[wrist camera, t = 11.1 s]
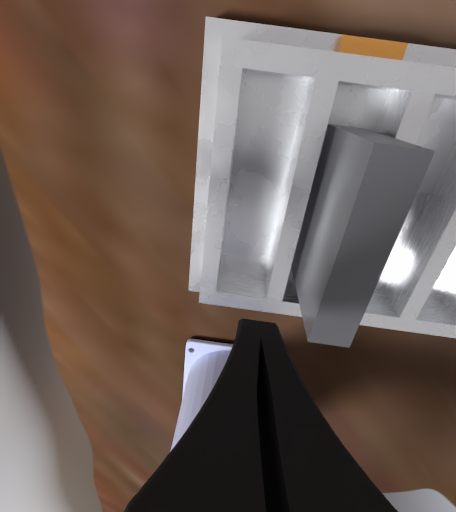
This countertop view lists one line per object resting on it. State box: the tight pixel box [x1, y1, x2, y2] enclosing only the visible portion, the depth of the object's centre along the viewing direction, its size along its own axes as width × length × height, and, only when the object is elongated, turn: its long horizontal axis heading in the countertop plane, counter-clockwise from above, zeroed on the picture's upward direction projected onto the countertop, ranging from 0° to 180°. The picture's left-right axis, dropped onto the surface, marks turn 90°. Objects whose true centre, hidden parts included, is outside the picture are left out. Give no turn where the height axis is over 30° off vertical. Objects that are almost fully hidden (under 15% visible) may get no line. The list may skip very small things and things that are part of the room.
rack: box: [189, 17, 456, 338], centre depth 17 cm, size 16×20×4 cm
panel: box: [291, 124, 435, 348], centre depth 15 cm, size 9×2×7 cm, turn 173°
